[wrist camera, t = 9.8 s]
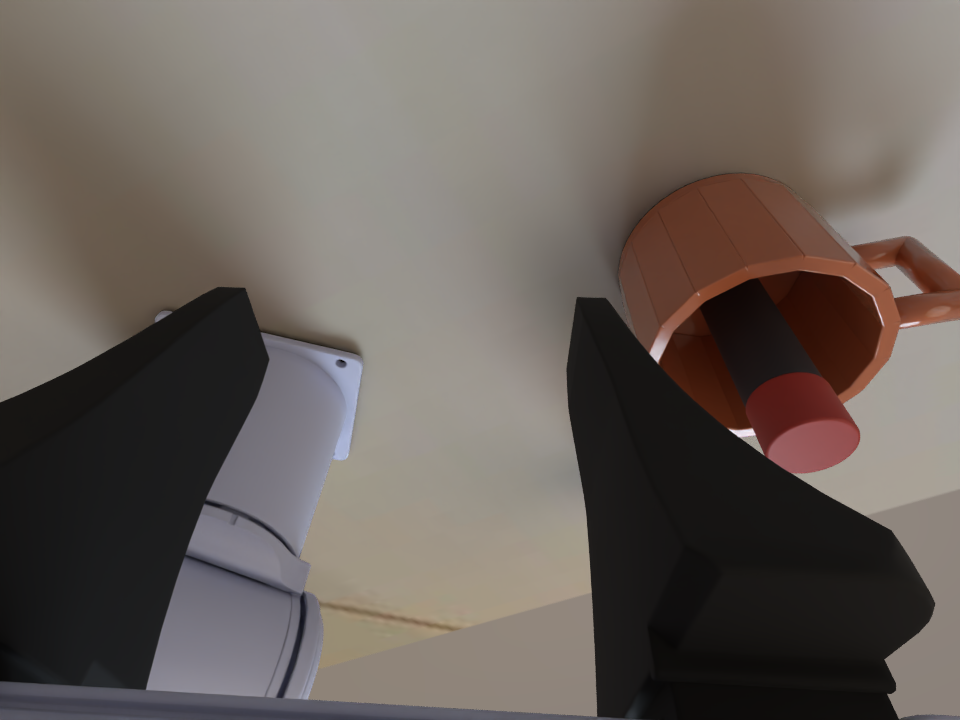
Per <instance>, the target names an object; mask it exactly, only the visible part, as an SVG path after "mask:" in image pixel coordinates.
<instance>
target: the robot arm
mask: <svg viewBox="0 0 960 720" xmlns="http://www.w3.org/2000/svg"><path fill="white" fill-rule="evenodd" d="M338 359H340V360H344V361H345V362H341V361H339V360H338ZM362 370H363V360H362V358H361V357H360V356H359V355H356V354H353V353H349V352H345V351H340V350H336V349H332V348H327V347H323V346H319V345H314V344H310V343H306V342H301V341H297V340H293V339H288V338H284V337H280V336H275V335H271V334H267V333H262V332H260V330H259V327H258V324H257V321H256V318H255V315H254V312H253V309H252V306H251V303H250V300H249V297H248V295H247V292H246V289H245V288H232V287H217V288H215V289H213V290H211V291H209V292H207V293H205V294H203V295H201V296H200V297H198V298H196V299H194V300H193V301H191V302H189V303H187V304H186V305H184V306H182V307H181V308H179V309H177V310H176V311H174V312H171V311H161V312H160V313H159V314H158V315H157V316H156V317H155V323H154V324H153V325H151V326H149V327H148V328H146V329H144V330H143V331H141V332H139V333H138V334H136V335H134V336H133V337H131V338H129V339H127V340H126V341H124V342H122V343H120V344H118V345H117V346H115V347H113V348H111V349H110V350H108V351H106V352H104V353H102V354H101V355H99V356H97V357H95V358H93V359H92V360H90V361H88V362H86V363H84V364H83V365H81V366H79V367H77V368H75V369H73V370H71V371H69V372H67V373H65V374H63V375H61V376H59V377H57V378H55V379H52V380H50V381H48V382H46V383H44V384H42V385H40V386H37V387H35V388H33V389H31V390H29V391H27V392H24V393H22V394H20V395H18V396H15V397H13V398H10V399H8V400H5V401H3V402H0V720H960V716H948V715H915V716H909V717H904V718H901V719H898V717H897V714H896V712H895V710H894V708H893V706H892V704H891V701H890V699H889V697H888V695H887V694H892V693H893V692H895V691H896V683H895V681H894V679H893V677H892V675H891V672H890V670H889V668H888V666H887V664H886V662H885V660H884V659H885V658H887V657H888V656H889V655H890V654H892V653H893V652H894V651H896V650H897V649H898V648H900V647H901V646H902V645H903V644H905V643H906V642H907V641H909V640H910V639H911V638H912V637H914V636H915V635H916V634H917V633H919V632H920V631H921V630H922V629H923V627H925V625H926V624H927V623H928V622H929V621H930V619H931V617H932V614H933V610H934V607H935V602H934V600H933V598H932V596H931V594H930V592H929V590H928V588H927V587H926V585H925V583H924V581H923V580H922V578H921V577H920V575H919V573H918V571H917V569H916V568H915V566H914V564H913V563H912V561H911V559H910V558H909V556H908V555H907V553H906V552H905V550H904V548H903V547H902V545H901V544H900V542H899V541H898V539H897V538H896V537H895V535H894V534H893V532H892V531H891V530H890V529H888V528H886V527H884V526H882V525H880V524H879V523H877V522H875V521H873V520H871V519H869V518H867V517H866V516H864V515H862V514H860V513H858V512H857V511H855V510H853V509H851V508H849V507H847V506H846V505H844V504H842V503H840V502H838V501H836V500H834V499H833V498H831V497H829V496H827V495H825V494H824V493H822V492H820V491H819V490H817V489H815V488H814V487H812V486H811V485H809V484H807V483H806V482H804V481H803V480H801V479H799V478H798V477H796V476H794V475H793V474H791V473H790V472H788V471H786V470H785V469H783V468H782V467H780V466H779V465H777V464H776V463H774V462H773V461H771V460H770V459H768V458H767V457H765V456H764V455H763V454H761V453H760V452H758V451H757V450H756V449H754V448H753V447H752V446H750V445H749V444H747V443H746V442H745V441H743V440H742V439H741V438H739V437H738V436H737V435H735V434H734V433H733V432H731V431H730V430H729V429H728V428H726V427H725V426H724V425H722V424H721V423H720V422H719V421H717V420H716V419H715V418H714V417H713V416H712V415H711V414H709V413H708V412H707V411H706V410H705V409H704V408H702V407H701V406H700V405H699V404H698V403H697V402H696V401H694V400H693V399H692V398H691V397H690V396H689V395H688V394H687V393H686V392H685V391H684V390H683V389H682V388H681V387H680V386H679V385H678V384H677V383H676V382H675V381H674V380H673V379H672V378H671V377H670V376H669V375H668V374H667V373H666V372H665V371H664V370H663V369H662V367H661V366H660V365H659V364H658V363H657V362H656V361H655V359H654V358H653V357H652V356H651V355H650V354H649V352H648V351H647V350H646V349H645V348H644V347H643V345H642V344H641V343H640V342H639V340H638V339H637V338H636V337H635V335H634V334H633V333H632V332H631V330H630V329H629V328H628V326H627V325H626V324H625V323H624V321H623V320H622V319H621V317H620V316H619V315H618V313H617V312H616V310H615V309H614V308H613V306H612V305H611V304H610V303H609V301H608V300H607V299H606V298H584V297H577V299H576V306H575V313H574V320H573V327H572V334H571V341H570V348H569V355H568V362H567V392H568V409H569V415H570V421H571V426H572V432H573V438H574V443H575V449H576V454H577V460H578V465H579V471H580V476H581V482H582V488H583V493H584V500H585V507H586V515H587V528H588V542H589V555H590V571H591V587H592V603H593V622H594V643H595V665H596V690H597V691H596V692H597V717H591V716H590V717H589V716H573V715H558V714H557V715H556V714H541V713H523V712H507V711H490V710H474V709H456V708H439V707H422V706H405V705H388V704H373V703H356V702H339V701H322V700H307V699H308V697H309V694H310V691H311V688H312V685H313V682H314V679H315V676H316V672H317V669H318V665H319V661H320V656H321V651H322V644H323V621H322V617H321V614H320V606H319V603H318V599H317V598H316V596H315V595H314V594H312V593H309V592H307V591H304V587H305V584H306V580H307V577H308V574H309V571H310V567H311V565H310V564H309V563H307V562H305V561H303V560H301V559H299V557H300V554H301V551H302V548H303V545H304V542H305V539H306V536H307V533H308V530H309V527H310V524H311V521H312V518H313V515H314V512H315V509H316V506H317V503H318V500H319V497H320V494H321V491H322V488H323V485H324V482H325V479H326V476H327V473H328V470H329V467H330V464H331V461H332V459H336V460H345V459H346V458H347V457H348V454H349V450H350V444H351V438H352V432H353V425H354V419H355V413H356V407H357V401H358V394H359V388H360V382H361V376H362Z"/></svg>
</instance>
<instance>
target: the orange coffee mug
mask: <svg viewBox="0 0 960 720" xmlns="http://www.w3.org/2000/svg"><path fill="white" fill-rule="evenodd" d="M893 266H896V267H897V268H898V269H899V270H900V271H901V272H902V273H903V274H904V275H905V276H907V277H908V278H909V279H910V280H911V281H912V282H913V283H914V284H915V285H916V286H917V287H918V288H919V289H920V290H921V291H922V292H923V293H922V294H916V295H910V296H904V297H898V298H894V296H893V293H892V290H891V287H890V286H889V284H888V283H887V282H886V281H885V280H884V279H883V278H882V277H881V276H880V275H879V274H878V273H877V272H876V271H875V270H876V269H882V268H888V267H893ZM618 273H619V285H620V291H621V294H622V303H623V307H624V311H625V315H626V318H627V322H628V326H629V329H630V330H631V332H632V333H633V334H634V335H635V337H636V338H637V339H638V340H639V342H640V343H641V344H642V345H643V347H644V348H645V349H646V350H647V351H648V352H649V354H650V355H651V356H652V357H653V358H654V359H655V361H656V362H657V363H658V364H659V365H660V366H661V367H662V369H663V370H664V371H665V372H666V373H667V374H668V375H669V376H670V377H671V378H672V379H673V380H674V381H675V382H676V383H677V384H678V385H679V386H680V387H681V388H682V389H683V390H684V391H685V392H686V393H687V394H688V395H689V396H690V397H691V398H692V399H693V400H694V401H696V402H697V403H698V404H699V405H700V406H701V407H702V408H704V409H705V410H706V411H707V412H708V413H709V414H711V415H712V416H713V417H714V418H715V419H716V420H717V421H719V422H720V423H721V424H722V425H724V426H725V427H726V428H728V429H729V430H730V431H731V432H733V433H734V434H735V435H737V436H738V437H739V438H741V437H749V436H756V435H755V433H754V430H753V428H752V426H751V424H750V422H749V419H748V417H747V415H746V408H745V406H744V404H743V402H742V400H741V397H740V395H739V393H738V391H737V389H736V386H735V384H734V382H733V380H732V378H731V376H730V373H729V371H728V369H727V367H726V365H725V362H724V360H723V358H722V356H721V354H720V351H719V349H718V347H717V345H716V343H715V341H714V338H713V336H712V334H711V332H710V330H709V327H708V325H707V323H706V321H705V319H704V316H703V314H702V312H701V310H700V308H699V307H700V306H701V305H702V304H703V303H704V302H705V301H707V300H709V299H711V298H713V297H715V296H717V295H719V294H721V293H723V292H725V291H727V290H729V289H731V288H733V287H735V286H737V285H739V284H741V283H743V282H745V281H747V280H749V279H754V278H758V279H759V280H760V282H761V283H762V285H763V286H764V288H765V289H766V291H767V293H768V294H769V296H770V297H771V299H772V300H773V302H774V303H775V305H776V306H777V308H778V309H779V311H780V313H781V314H782V316H783V317H784V319H785V320H786V322H787V323H788V325H789V326H790V328H791V329H792V331H793V333H794V334H795V336H796V337H797V339H798V340H799V342H800V343H801V345H802V346H803V348H804V349H805V351H806V353H807V354H808V356H809V357H810V359H811V360H812V362H813V363H814V365H815V366H816V368H817V369H818V371H819V372H820V374H821V376H822V377H823V378H824V379H825V380H826V381H827V382H828V383H829V384H830V386H831V387H832V389H833V390H834V392H835V393H836V395H837V396H838V398H839V399H840V401H841V402H842V404H843V403H845V402H846V401H848V400H849V399H851V398H852V397H854V396H855V395H857V394H859V393H860V392H861V391H862V390H863V389H864V388H865V387H866V386H867V385H868V383H869V382H870V381H871V380H872V379H873V378H874V376H875V375H876V374H877V373H878V372H879V371H880V369H881V368H882V367H883V366H884V365H885V363H886V362H887V361H888V360H889V358H890V357H891V354H892V350H893V347H894V344H895V340H896V337H897V334H898V330H899V329H904V328H910V327H916V326H923V325H929V324H936V323H942V322H948V321H955V320H960V275H959V274H958V273H957V272H956V271H954V270H953V269H952V268H951V267H950V266H948V265H947V264H946V263H945V262H943V261H942V260H941V259H940V258H939V257H937V256H936V255H935V254H934V253H933V252H931V251H930V250H929V249H928V248H927V247H925V246H924V245H923V244H922V243H921V242H919V241H918V240H917V239H915V238H913V237H910V236H902V237H897V238H892V239H886V240H881V241H876V242H870V243H865V244H860V245H854V246H850V245H849V244H848V243H847V242H846V241H845V240H844V239H843V238H842V237H841V236H840V235H839V234H838V233H837V232H836V231H835V230H834V229H833V228H832V227H831V226H830V225H829V224H828V223H827V221H826V220H825V219H824V218H823V217H822V216H821V215H820V214H819V213H818V212H817V211H816V210H815V209H814V208H813V207H812V206H811V205H810V204H809V203H807V202H806V201H804V200H803V199H802V198H800V197H799V196H798V195H797V194H796V193H795V192H794V191H793V190H792V189H790V188H789V187H787V186H786V185H784V184H782V183H781V182H779V181H776V180H774V179H771V178H769V177H765V176H760V175H756V174H744V173H738V174H724V175H718V176H713V177H709V178H706V179H702V180H699V181H696V182H694V183H691V184H689V185H687V186H684V187H683V188H681V189H679V190H677V191H675V192H673V193H672V194H670V195H669V196H667V197H666V198H664V199H663V200H661V201H660V202H659V203H658V204H657V205H655V206H654V207H653V208H652V209H651V210H650V211H649V212H648V213H647V214H646V215H645V216H644V217H643V218H642V219H641V220H640V222H639V223H638V224H637V226H636V227H635V228H634V230H633V231H632V233H631V235H630V236H629V238H628V240H627V242H626V244H625V247H624V249H623V251H622V255H621V259H620V263H619V272H618Z"/></svg>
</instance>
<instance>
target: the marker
mask: <svg viewBox="0 0 960 720" xmlns="http://www.w3.org/2000/svg"><path fill="white" fill-rule="evenodd" d="M699 308H700V310H701V312H702V314H703V316H704V319H705V321H706V323H707V325H708V327H709V330H710V332H711V334H712V336H713V338H714V341H715V343H716V345H717V347H718V349H719V351H720V354H721V356H722V358H723V360H724V362H725V365H726V367H727V369H728V371H729V373H730V376H731V378H732V380H733V382H734V384H735V386H736V389H737V391H738V393H739V395H740V397H741V400H742V402H743V404H744V406H745V408H746V415H747V417H748V419H749V422H750V424H751V426H752V428H753V430H754V433H755V435H756V437H757V439H758V441H759V444H760V446H761V448H762V450H763V452H764V455H765V457H767V458H768V459H770V460H771V461H773V462H774V463H776V464H777V465H779V466H780V467H782V468H783V469H785V470H786V471H788V472H790V473H810V472H816V471H820V470H823V469H826V468H829V467H832V466H834V465H836V464H838V463H840V462H841V461H843V460H845V459H846V458H847V457H849V456H850V455H851V454H852V453H853V452H854V451H855V449H856V448H857V446H858V444H859V441H860V431H859V429H858V427H857V425H856V424H855V422H854V421H853V419H852V418H851V416H850V415H849V413H848V412H847V410H846V409H845V407H844V405H843V404H842V402H841V401H840V399H839V398H838V396H837V395H836V393H835V392H834V390H833V389H832V387H831V386H830V384H829V383H828V382H827V381H826V380H825V379H824V378H823V377H822V376H821V374H820V372H819V371H818V369H817V368H816V366H815V365H814V363H813V362H812V360H811V359H810V357H809V356H808V354H807V353H806V351H805V349H804V348H803V346H802V345H801V343H800V342H799V340H798V339H797V337H796V336H795V334H794V333H793V331H792V329H791V328H790V326H789V325H788V323H787V322H786V320H785V319H784V317H783V316H782V314H781V313H780V311H779V309H778V308H777V306H776V305H775V303H774V302H773V300H772V299H771V297H770V296H769V294H768V293H767V291H766V289H765V288H764V286H763V285H762V283H761V282H760V280H759V279H758V278H754V279H749V280H747V281H745V282H743V283H741V284H739V285H737V286H735V287H733V288H731V289H729V290H727V291H725V292H723V293H721V294H719V295H717V296H715V297H713V298H711V299H709V300H707V301H705V302H704V303H703V304H702V305H701V306H700V307H699Z"/></svg>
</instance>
